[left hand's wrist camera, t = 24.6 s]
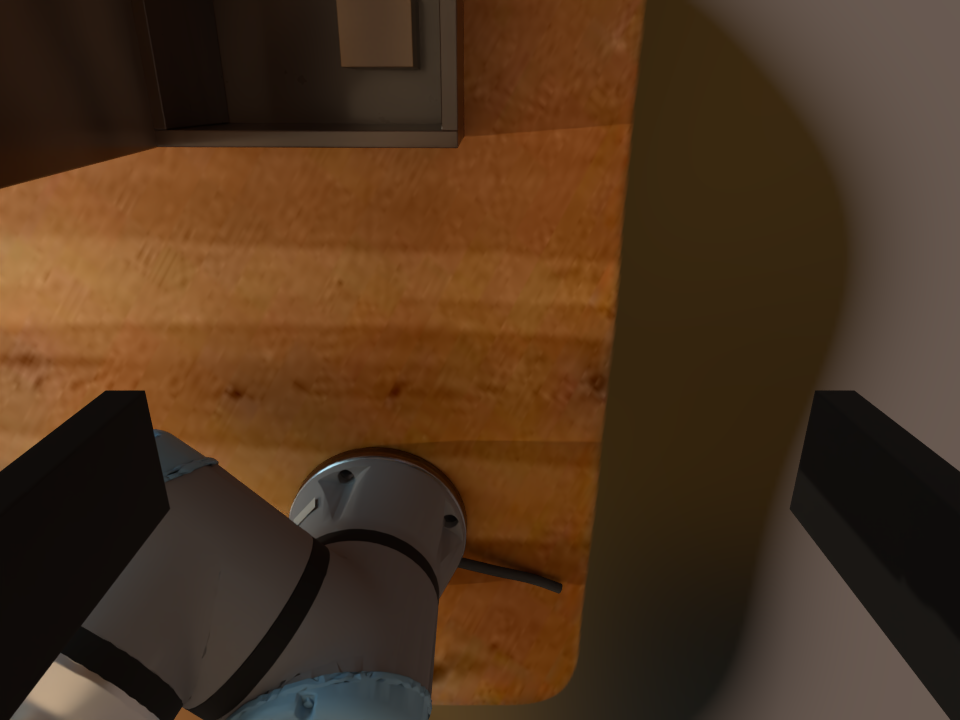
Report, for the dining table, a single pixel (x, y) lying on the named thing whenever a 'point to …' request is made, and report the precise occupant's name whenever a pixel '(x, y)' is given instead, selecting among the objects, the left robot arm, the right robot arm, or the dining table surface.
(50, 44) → the lid
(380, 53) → the block
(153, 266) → the dining table surface
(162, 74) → the chest
